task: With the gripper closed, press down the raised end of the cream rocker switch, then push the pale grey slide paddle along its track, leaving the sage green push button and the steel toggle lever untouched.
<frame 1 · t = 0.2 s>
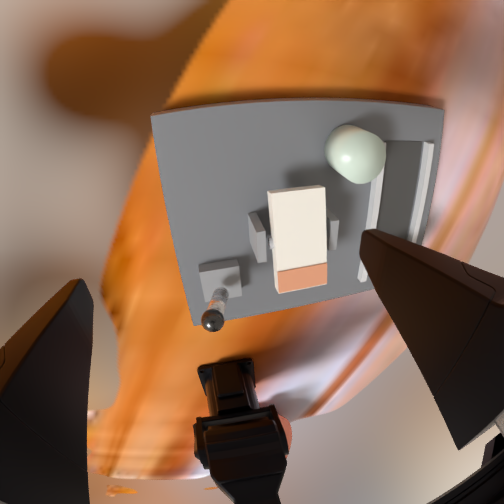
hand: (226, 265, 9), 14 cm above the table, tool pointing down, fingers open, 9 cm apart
switch panel: (313, 206, 25), on the table
toggle lever: (214, 313, 21), point 6 cm above the table, hinge at -20.0°
rocker switch: (298, 239, 21), point 5 cm above the table, hinge at 12.0°
push button: (355, 153, 19), point 4 cm above the table, slide at 0.0 cm
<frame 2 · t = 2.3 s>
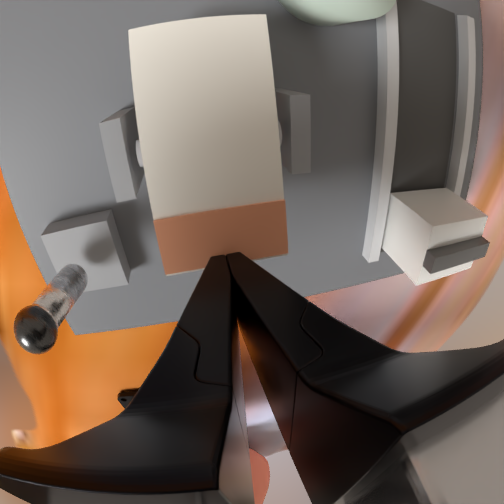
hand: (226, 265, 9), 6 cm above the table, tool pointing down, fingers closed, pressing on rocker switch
slide paddle: (438, 235, 13), point 4 cm above the table, slide at 0.0 cm
switch panel: (270, 111, 12), on the table
toggle lever: (45, 315, 8), point 6 cm above the table, hinge at -20.0°
rocker switch: (209, 141, 8), point 5 cm above the table, hinge at 9.9°, touching gripper
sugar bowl: (215, 451, 31), on the table
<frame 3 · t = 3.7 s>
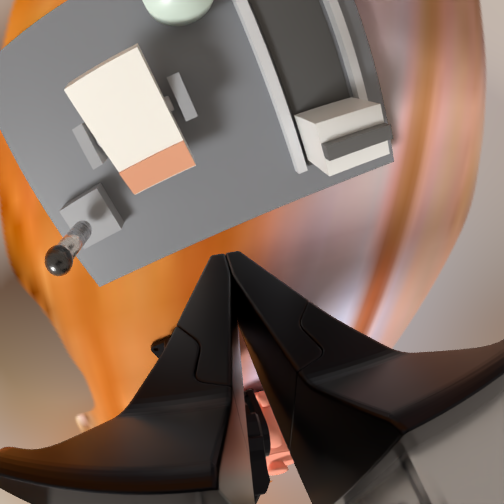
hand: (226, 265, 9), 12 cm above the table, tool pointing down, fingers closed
slide paddle: (344, 134, 16), point 4 cm above the table, slide at 0.0 cm
switch panel: (188, 89, 17), on the table
toggle lever: (65, 251, 14), point 6 cm above the table, hinge at -20.0°
rocker switch: (133, 123, 13), point 5 cm above the table, hinge at -18.8°
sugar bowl: (258, 400, 37), on the table
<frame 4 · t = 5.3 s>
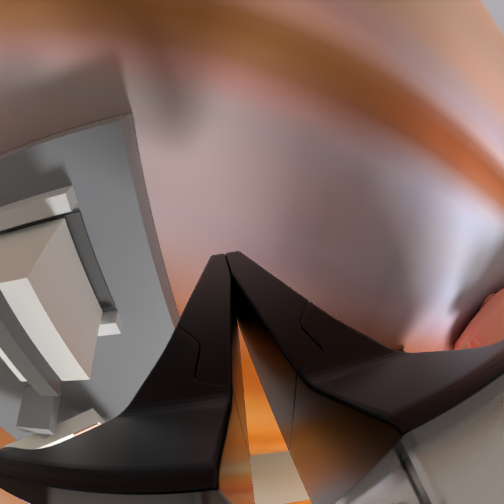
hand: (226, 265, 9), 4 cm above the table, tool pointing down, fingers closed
slide paddle: (33, 310, 8), point 4 cm above the table, slide at 0.0 cm
switch panel: (46, 358, 14), on the table
rocker switch: (62, 449, 12), point 5 cm above the table, hinge at -25.3°
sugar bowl: (479, 318, 24), on the table
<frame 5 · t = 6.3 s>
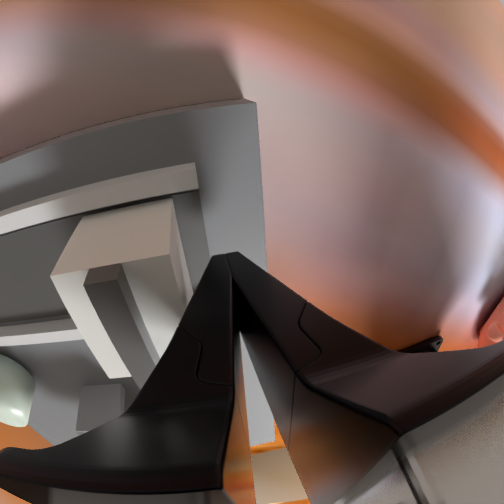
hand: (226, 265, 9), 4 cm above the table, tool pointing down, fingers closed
slide paddle: (135, 297, 8), point 4 cm above the table, slide at 0.4 cm, touching gripper
switch panel: (103, 355, 15), on the table
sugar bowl: (501, 306, 24), on the table
push button: (2, 391, 11), point 4 cm above the table, slide at 0.0 cm
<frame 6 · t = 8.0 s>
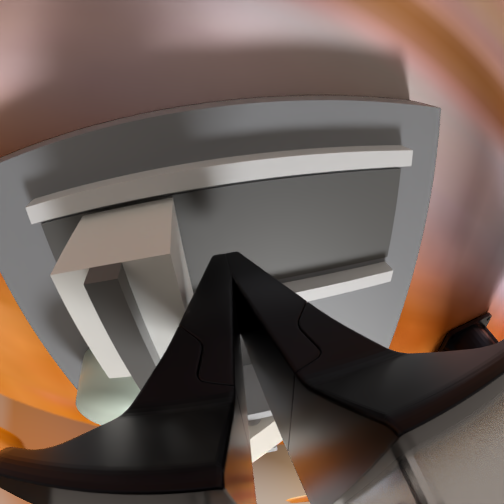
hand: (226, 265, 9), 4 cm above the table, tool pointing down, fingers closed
slide paddle: (135, 296, 8), point 4 cm above the table, slide at 7.7 cm, touching gripper
switch panel: (231, 336, 16), on the table
rocker switch: (257, 435, 14), point 5 cm above the table, hinge at -27.3°
push button: (118, 389, 12), point 3 cm above the table, slide at 0.0 cm
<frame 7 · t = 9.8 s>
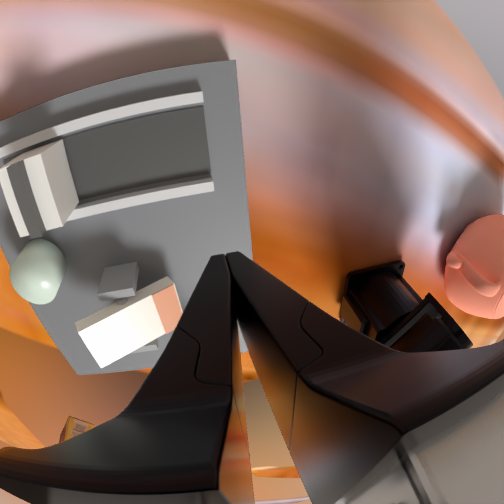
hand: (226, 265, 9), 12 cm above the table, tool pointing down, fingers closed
slide paddle: (37, 188, 13), point 4 cm above the table, slide at 7.7 cm
switch panel: (123, 247, 21), on the table
candy box: (75, 427, 34), on the table
rocker switch: (132, 322, 19), point 5 cm above the table, hinge at -27.4°
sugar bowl: (464, 248, 30), on the table
push button: (38, 271, 17), point 3 cm above the table, slide at 0.0 cm
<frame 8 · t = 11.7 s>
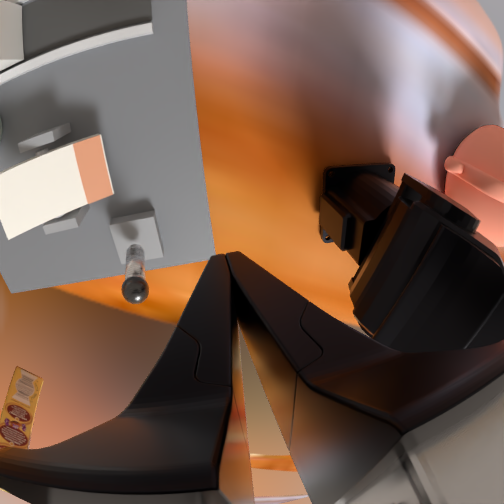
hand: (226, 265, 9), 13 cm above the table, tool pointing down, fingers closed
switch panel: (63, 121, 16), on the table
toggle lever: (135, 279, 17), point 6 cm above the table, hinge at -20.0°
candy box: (26, 385, 29), on the table
rocker switch: (50, 184, 14), point 5 cm above the table, hinge at -27.5°
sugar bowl: (465, 171, 25), on the table
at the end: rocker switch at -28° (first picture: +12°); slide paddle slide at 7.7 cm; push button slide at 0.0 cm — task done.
